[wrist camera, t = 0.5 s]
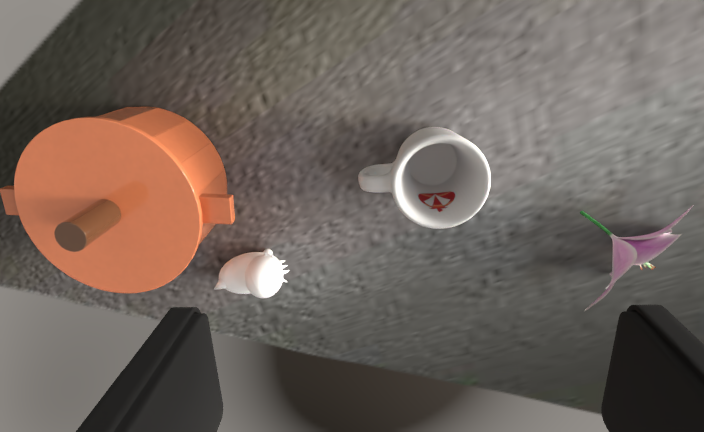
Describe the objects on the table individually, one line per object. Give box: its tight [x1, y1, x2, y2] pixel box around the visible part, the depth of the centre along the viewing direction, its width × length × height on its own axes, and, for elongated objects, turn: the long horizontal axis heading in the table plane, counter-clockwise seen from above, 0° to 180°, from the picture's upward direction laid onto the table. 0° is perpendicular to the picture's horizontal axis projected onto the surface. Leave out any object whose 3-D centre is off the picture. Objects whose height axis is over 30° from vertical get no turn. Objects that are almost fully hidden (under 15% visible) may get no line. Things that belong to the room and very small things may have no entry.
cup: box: [358, 127, 491, 229], centre depth 41 cm, size 11×8×8 cm
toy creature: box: [214, 249, 290, 298], centre depth 47 cm, size 5×8×6 cm, turn 108°
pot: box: [0, 106, 235, 244], centre depth 43 cm, size 15×20×8 cm
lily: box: [580, 205, 693, 311], centre depth 43 cm, size 12×12×10 cm
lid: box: [14, 117, 202, 293], centre depth 37 cm, size 16×16×6 cm
